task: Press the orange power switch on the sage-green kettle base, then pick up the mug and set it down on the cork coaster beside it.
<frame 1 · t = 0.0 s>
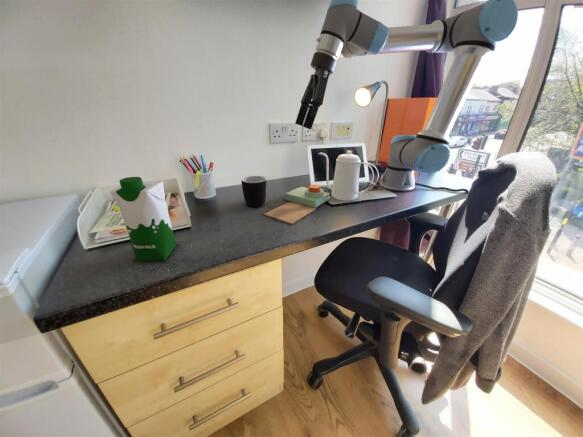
hand: (302, 126, 80), 28 cm above the table, tool tilted 20°, fingers open, 13 cm apart
coffeepot: (343, 197, 98), on the table
mug: (254, 203, 91), on the table
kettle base: (307, 199, 95), on the table
coaster: (290, 212, 84), on the table
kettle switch: (314, 188, 91), point 5 cm above the table, slide at 0.1 cm
milk carton: (158, 253, 61), on the table
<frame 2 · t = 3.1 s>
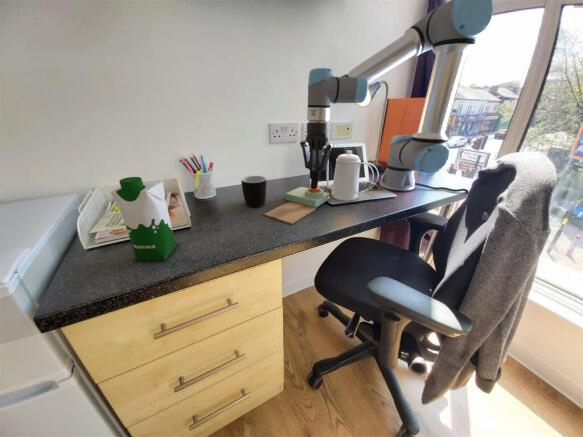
hand: (314, 187, 91), 6 cm above the table, tool pointing down, fingers closed
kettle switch: (314, 190, 92), point 4 cm above the table, slide at -0.6 cm, touching gripper
everything else where it was.
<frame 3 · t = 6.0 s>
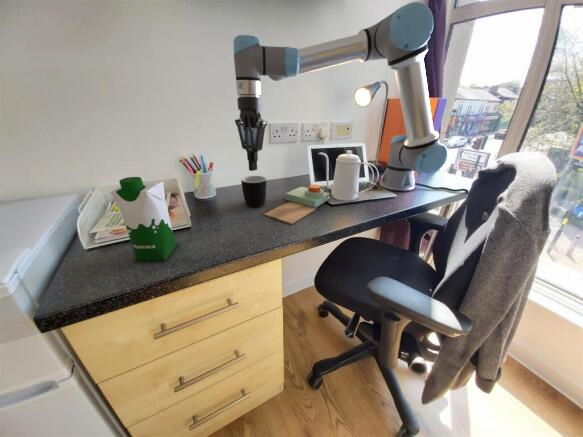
hand: (253, 169, 85), 13 cm above the table, tool pointing down, fingers closed
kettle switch: (314, 188, 91), point 5 cm above the table, slide at 0.1 cm
everything else where it was.
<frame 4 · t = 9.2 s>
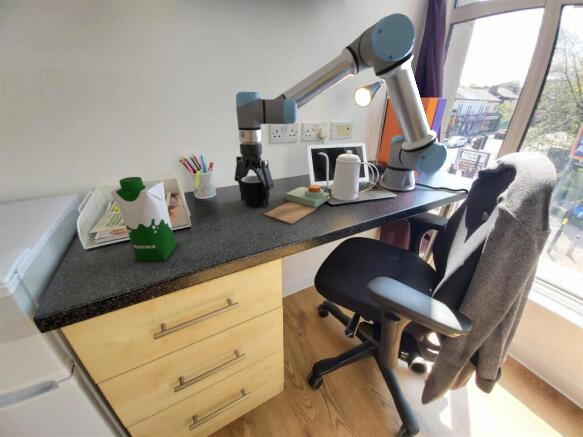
hand: (254, 202, 90), 0 cm above the table, tool pointing down, fingers closed on mug, 11 cm apart
mug: (254, 203, 91), on the table, touching gripper
everything else where it was.
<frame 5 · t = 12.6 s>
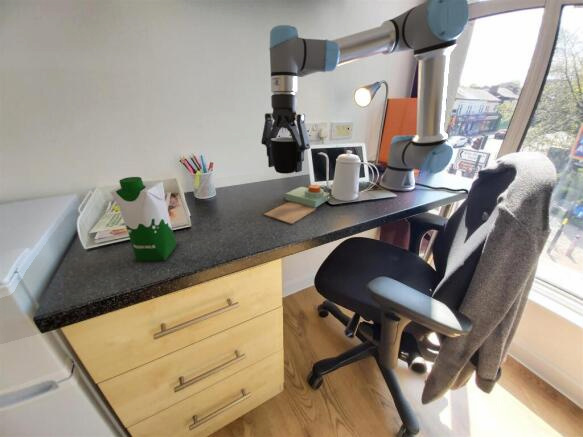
hand: (284, 168, 78), 15 cm above the table, tool pointing down, fingers closed on mug, 10 cm apart
mug: (283, 170, 79), point 14 cm above the table, touching gripper
everything else where it was.
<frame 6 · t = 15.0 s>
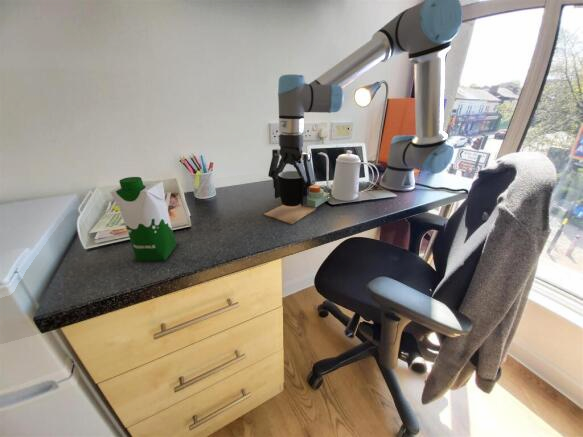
hand: (290, 200, 82), 4 cm above the table, tool pointing down, fingers closed on mug, 10 cm apart
mug: (289, 202, 83), point 4 cm above the table, touching gripper
everything else where it was.
when the fingers open (1 cm above the table, at t = 16.5 s): mug stays where it is, resting on coaster.
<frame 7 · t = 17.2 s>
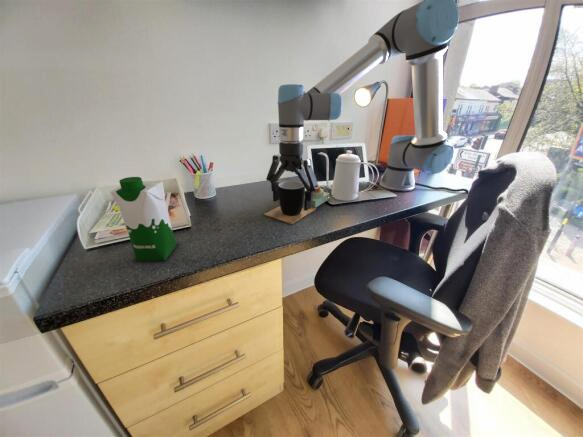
hand: (291, 204, 83), 3 cm above the table, tool pointing down, fingers open, 13 cm apart
mug: (289, 211, 84), resting on coaster
everything else where it was.
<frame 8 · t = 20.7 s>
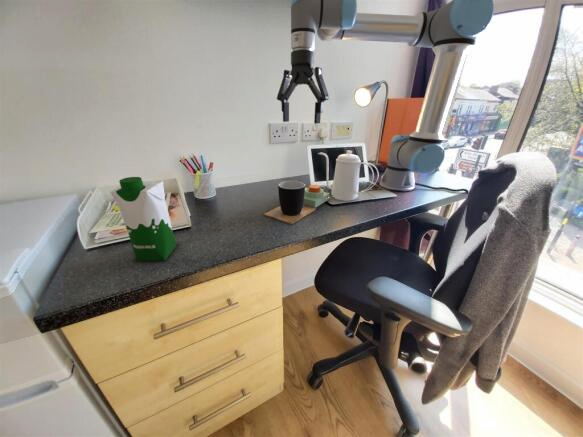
hand: (300, 122, 85), 29 cm above the table, tool pointing down, fingers open, 13 cm apart
nothing on the table moved.
at the end: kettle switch pushed in 1.0 cm at the most during the clip, back to where it started at the end; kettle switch slide at 0.1 cm; mug inside the target area on the coaster (0.5 cm from its centre), point 0.2 cm above the coaster's base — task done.
